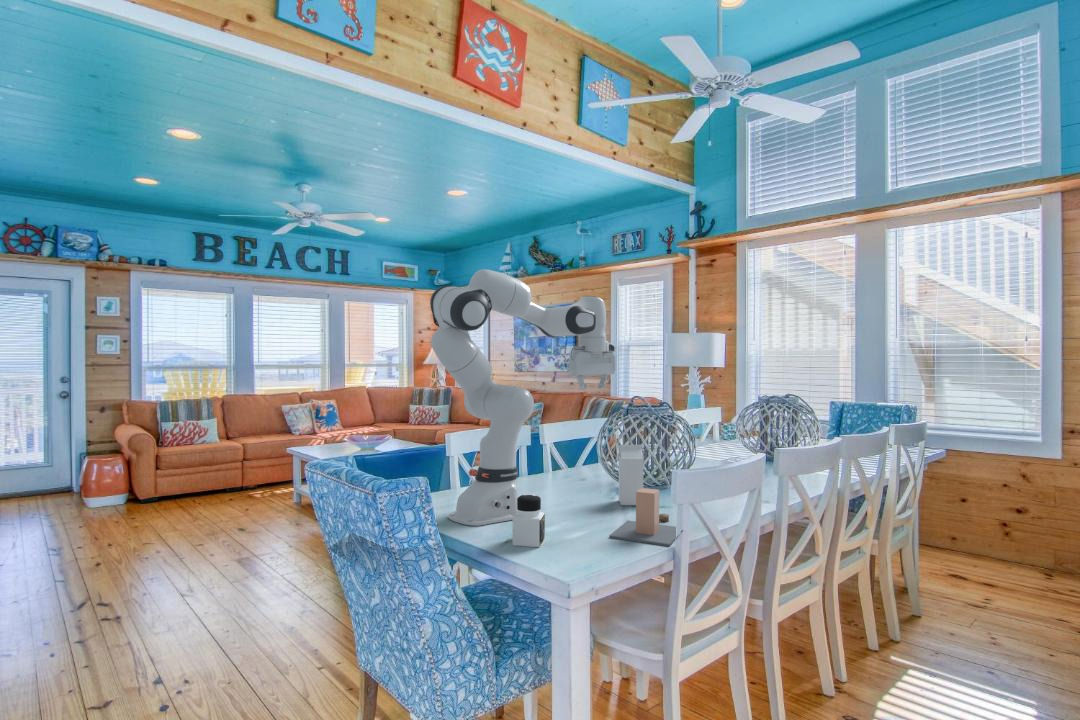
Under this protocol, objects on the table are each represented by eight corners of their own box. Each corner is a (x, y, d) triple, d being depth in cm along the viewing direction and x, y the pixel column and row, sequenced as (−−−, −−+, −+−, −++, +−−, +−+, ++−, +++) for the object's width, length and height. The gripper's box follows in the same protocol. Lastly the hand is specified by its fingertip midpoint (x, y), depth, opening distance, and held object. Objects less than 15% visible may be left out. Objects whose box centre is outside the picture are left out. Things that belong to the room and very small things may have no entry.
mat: (609, 537, 156) (609, 535, 156) (627, 522, 170) (627, 520, 170) (669, 546, 149) (669, 544, 149) (683, 529, 163) (683, 527, 163)
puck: (665, 522, 170) (665, 517, 170) (656, 520, 172) (656, 515, 172) (670, 520, 172) (670, 515, 172) (662, 518, 174) (662, 513, 174)
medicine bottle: (540, 547, 147) (540, 499, 147) (512, 546, 149) (512, 498, 149) (544, 539, 154) (545, 493, 154) (518, 537, 156) (518, 492, 156)
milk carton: (643, 505, 189) (643, 446, 189) (621, 505, 189) (621, 446, 189) (640, 500, 196) (640, 443, 196) (618, 500, 196) (618, 443, 196)
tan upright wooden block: (635, 532, 158) (636, 491, 158) (641, 527, 163) (641, 487, 163) (654, 535, 156) (654, 493, 156) (659, 530, 161) (659, 489, 160)
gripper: (578, 346, 183) (578, 390, 183) (619, 346, 197) (618, 388, 197) (563, 346, 187) (563, 389, 187) (604, 347, 202) (604, 387, 202)
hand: (592, 389), depth 192 cm, fingers open, 8 cm apart
